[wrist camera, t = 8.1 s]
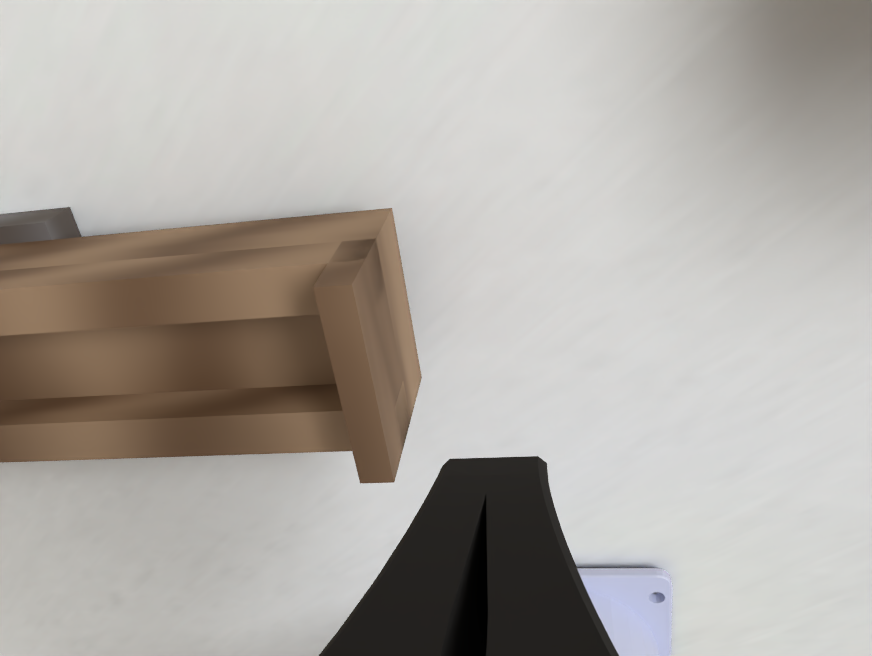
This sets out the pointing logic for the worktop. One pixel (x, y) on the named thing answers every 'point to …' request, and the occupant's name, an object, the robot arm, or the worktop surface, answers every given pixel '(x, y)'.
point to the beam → (206, 340)
